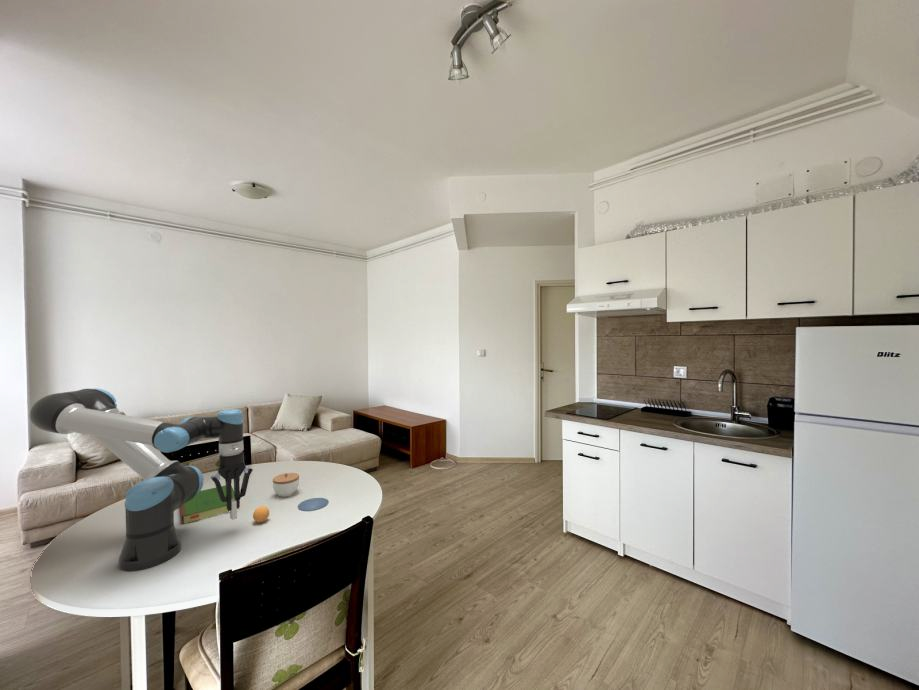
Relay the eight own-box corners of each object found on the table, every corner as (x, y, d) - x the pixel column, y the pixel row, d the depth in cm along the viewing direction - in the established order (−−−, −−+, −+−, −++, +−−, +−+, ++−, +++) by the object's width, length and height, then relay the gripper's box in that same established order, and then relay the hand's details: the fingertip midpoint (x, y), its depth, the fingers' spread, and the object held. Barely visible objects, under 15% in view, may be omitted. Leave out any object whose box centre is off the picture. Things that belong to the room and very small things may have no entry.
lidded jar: (304, 489, 168) (303, 469, 168) (291, 499, 157) (290, 478, 157) (282, 489, 169) (281, 468, 169) (267, 499, 158) (267, 477, 158)
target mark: (304, 514, 144) (304, 513, 144) (293, 504, 153) (293, 504, 153) (333, 504, 153) (333, 503, 153) (320, 495, 161) (320, 495, 161)
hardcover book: (179, 504, 155) (179, 495, 155) (230, 492, 167) (230, 484, 167) (182, 527, 136) (182, 517, 136) (240, 511, 148) (239, 502, 148)
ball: (255, 526, 135) (255, 511, 134) (251, 521, 138) (250, 507, 138) (271, 521, 138) (271, 507, 138) (266, 516, 142) (266, 502, 142)
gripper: (212, 459, 124) (214, 528, 124) (254, 450, 133) (256, 515, 134) (207, 455, 129) (209, 521, 130) (248, 447, 139) (250, 508, 139)
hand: (233, 518), depth 132 cm, fingers closed
